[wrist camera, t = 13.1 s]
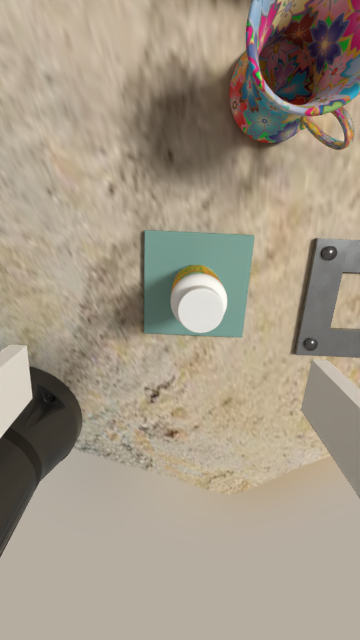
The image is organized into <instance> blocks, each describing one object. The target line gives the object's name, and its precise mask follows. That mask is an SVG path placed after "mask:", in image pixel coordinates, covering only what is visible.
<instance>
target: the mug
mask: <svg viewBox="0 0 360 640" xmlns="http://www.w3.org/2000/svg"><path fill="white" fill-rule="evenodd" d="M359 93H360V0H252V3H251V6H250V9H249V14H248V19H247V26H246V52H245V53H244V54H243V55H242V57H241V58H240V60H239V61H238V63H237V65H236V67H235V70H234V72H233V75H232V79H231V84H230V105H231V110H232V113H233V116H234V118H235V121H236V122H237V124H238V126H239V127H240V128H241V130H242V131H243V132H244V133H245V134H247V135H248V136H249V137H251V138H252V139H254V140H257V141H260V142H265V143H276V142H281V141H284V140H286V139H289V138H290V137H292V136H294V135H295V134H297V133H298V132H299V131H300V130H303V129H305V128H307V129H308V130H309V131H310V133H311V134H312V135H313V136H314V137H315V138H317V139H318V140H319V141H320V142H322V143H323V144H325V145H326V146H328V147H330V148H332V149H336V150H342V149H345V148H346V147H348V146H349V145H350V144H351V143H352V142H353V140H354V135H355V131H354V125H353V122H352V119H351V117H350V115H349V114H348V112H347V111H346V110H345V108H344V107H343V106H344V105H345V104H347V103H348V102H350V101H351V100H352V99H353V98H355V97H356V96H357V95H358V94H359ZM329 112H331V113H332V114H333V115H334V116H335V117H336V118H337V119H338V121H339V122H340V124H341V126H342V128H343V132H344V137H345V140H344V142H342V141H338V140H336V139H334V138H332V137H330V136H329V135H328V134H326V133H325V132H324V131H323V130H322V129H321V128H320V127H319V126H318V125H317V124H316V123H315V122H314V121H313V120H312V119H311V116H318V115H323V114H326V113H329Z"/></svg>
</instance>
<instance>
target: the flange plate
mask: <svg viewBox="0 0 360 640" xmlns="http://www.w3.org/2000/svg"><path fill="white" fill-rule="evenodd" d="M343 272H357V273H360V240H343V239H322V238H316V239H315V245H314V250H313V255H312V261H311V266H310V271H309V277H308V282H307V288H306V293H305V298H304V304H303V309H302V315H301V320H300V325H299V331H298V336H297V341H296V347H295V352H294V353H295V354H296V355H319V356H342V357H360V329H343V328H330V327H331V322H332V318H333V313H334V309H335V304H336V300H337V295H338V291H339V286H340V282H341V277H342V273H343Z"/></svg>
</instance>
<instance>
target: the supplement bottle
mask: <svg viewBox="0 0 360 640" xmlns="http://www.w3.org/2000/svg"><path fill="white" fill-rule="evenodd" d="M170 303H171V309H172V312H173V314H174V316H175V318H176V319H177V320H178V321H179V322H180V323H181V324H182V325H183V326H184V327H185V328H187V329H188V330H190V331H192V332H196V333H205V332H209V331H211V330H213V329H214V328H216V327H217V326H218V325H219V324H220V322H221V321H222V318H223V315H224V313H225V311H226V308H227V294H226V291H225V289H224V287H223V285H222V283H221V282H220V280H219V279H218V277H217V275H216V274H215V272H214V271H213V270H212V269H210V268H209V267H207V266H205V265H201V264H192V265H188V266H186V267H184V268H182V269H181V270H180V271H179V272H178V273H177V275H176V276H175V278H174V281H173V286H172V292H171V300H170Z"/></svg>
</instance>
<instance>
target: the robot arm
mask: <svg viewBox="0 0 360 640" xmlns="http://www.w3.org/2000/svg"><path fill="white" fill-rule="evenodd" d="M301 411H302V412H303V414H304V415H305V417H306V418H307V420H308V421H309V423H310V424H311V426H312V427H313V429H314V430H315V432H316V433H317V435H318V436H319V438H320V439H321V441H322V442H323V444H324V445H325V447H326V448H327V450H328V451H329V453H330V454H331V456H332V457H333V459H334V460H335V462H336V463H337V465H338V467H339V468H340V469H341V471H342V473H343V474H344V475H345V477H346V478H347V480H348V482H349V483H350V484H351V486H352V487H353V489H354V491H355V492H356V494H357V495H358V497H359V498H360V389H359V388H358V387H357V386H356V385H355V384H353V383H352V382H351V381H350V380H349V379H348V378H347V377H346V376H345V375H344V374H342V373H341V372H340V371H339V370H338V369H337V368H336V367H335V366H334V365H333V364H331V363H330V362H329V361H328V360H312V362H311V366H310V371H309V375H308V380H307V384H306V389H305V393H304V398H303V402H302V407H301ZM81 428H82V413H81V409H80V406H79V403H78V401H77V399H76V398H75V396H74V395H73V393H72V392H71V391H70V389H69V388H68V387H67V386H66V385H65V384H64V383H62V382H61V381H60V380H59V379H57V378H56V377H54V376H52V375H51V374H49V373H47V372H44V371H42V370H39V369H36V368H32V367H29V362H28V353H27V345H8V346H7V347H6V348H4V349H3V350H2V351H0V557H1V555H2V553H3V551H4V549H5V547H6V545H7V543H8V541H9V539H10V537H11V535H12V534H13V532H14V530H15V528H16V526H17V524H18V522H19V520H20V518H21V516H22V514H23V512H24V510H25V509H26V506H27V505H28V503H29V501H30V499H31V497H32V495H33V493H34V491H35V489H36V487H37V486H38V484H39V482H40V481H41V480H42V479H43V478H44V477H45V476H46V475H47V474H48V473H49V472H50V471H51V470H52V469H53V468H54V467H55V466H56V465H57V464H58V463H59V462H60V461H62V460H63V459H64V458H65V457H66V456H67V455H68V454H69V453H70V451H71V450H72V448H73V447H74V445H75V443H76V441H77V439H78V436H79V434H80V431H81Z"/></svg>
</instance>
